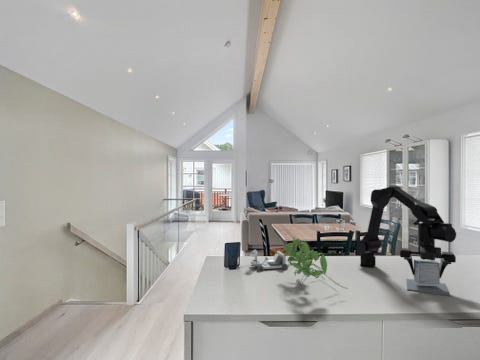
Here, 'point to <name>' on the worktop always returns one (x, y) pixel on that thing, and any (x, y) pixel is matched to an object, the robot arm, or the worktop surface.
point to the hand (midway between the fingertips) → (426, 276)
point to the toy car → (270, 261)
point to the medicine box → (427, 272)
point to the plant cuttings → (305, 260)
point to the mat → (428, 288)
